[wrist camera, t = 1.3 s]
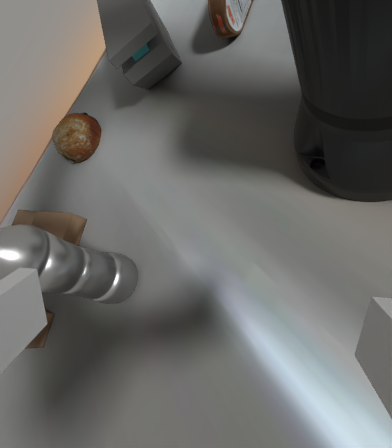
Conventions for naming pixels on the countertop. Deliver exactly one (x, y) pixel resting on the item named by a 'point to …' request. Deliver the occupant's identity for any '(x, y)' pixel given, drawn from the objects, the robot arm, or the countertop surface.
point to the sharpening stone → (137, 41)
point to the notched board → (59, 226)
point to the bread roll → (77, 137)
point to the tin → (228, 16)
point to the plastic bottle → (67, 265)
